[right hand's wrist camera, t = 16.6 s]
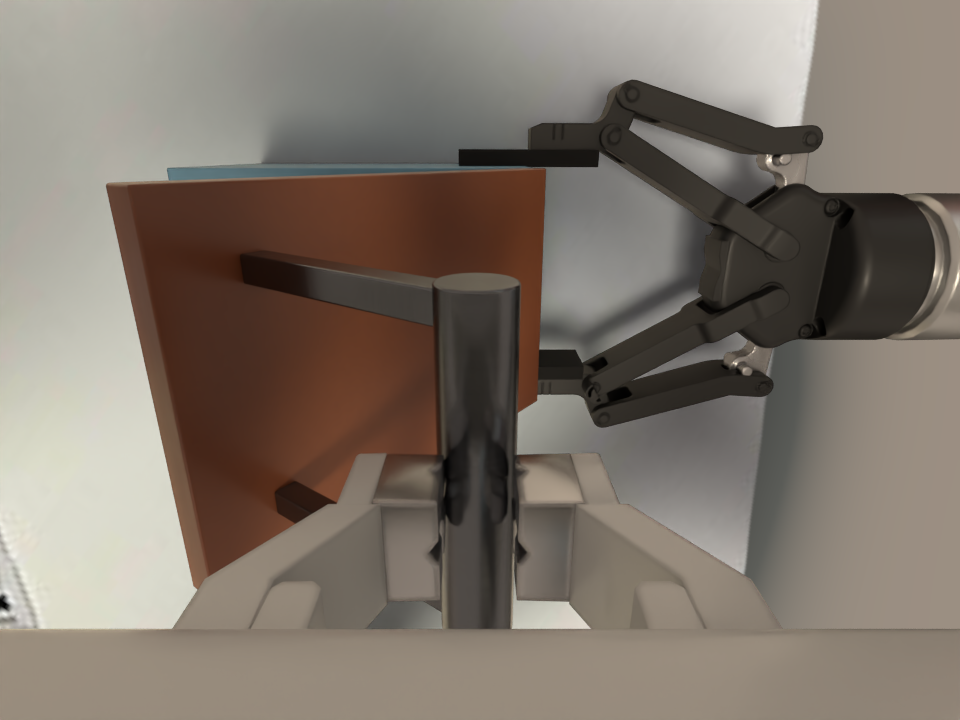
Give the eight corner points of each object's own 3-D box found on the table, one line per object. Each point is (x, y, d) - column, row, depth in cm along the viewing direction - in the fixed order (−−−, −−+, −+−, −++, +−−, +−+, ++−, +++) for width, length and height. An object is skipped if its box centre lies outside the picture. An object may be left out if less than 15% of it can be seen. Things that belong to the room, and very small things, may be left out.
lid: (192, 586, 15) (429, 787, 10) (104, 183, 11) (403, 203, 7) (518, 395, 26) (698, 447, 22) (524, 167, 23) (739, 171, 18)
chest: (281, 327, 36) (207, 395, 26) (260, 163, 33) (165, 167, 23) (511, 326, 37) (527, 393, 26) (515, 163, 33) (534, 167, 23)
